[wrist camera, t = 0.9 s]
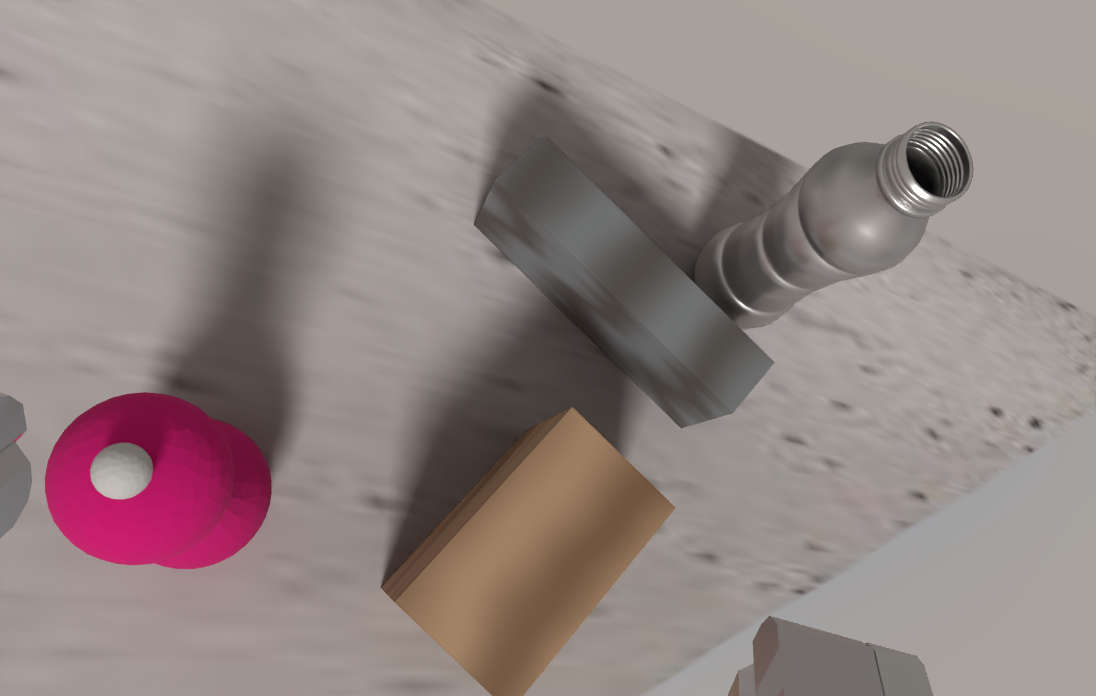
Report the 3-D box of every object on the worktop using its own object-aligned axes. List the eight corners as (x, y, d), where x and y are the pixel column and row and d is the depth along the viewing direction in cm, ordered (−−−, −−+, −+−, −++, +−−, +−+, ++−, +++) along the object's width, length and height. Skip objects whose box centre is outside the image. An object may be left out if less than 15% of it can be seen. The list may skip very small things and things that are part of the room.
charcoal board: (473, 224, 52) (495, 179, 45) (517, 184, 53) (544, 134, 46) (681, 428, 52) (732, 413, 46) (718, 383, 53) (774, 362, 47)
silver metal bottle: (774, 248, 57) (999, 106, 38) (771, 345, 55) (1004, 247, 36) (686, 230, 55) (873, 73, 36) (679, 329, 54) (872, 219, 35)
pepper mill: (246, 407, 46) (191, 320, 27) (296, 529, 45) (275, 527, 26) (109, 460, 44) (-55, 406, 25) (160, 589, 43) (30, 635, 24)
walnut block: (380, 587, 46) (394, 602, 36) (525, 430, 50) (572, 406, 40) (472, 675, 46) (509, 712, 37) (609, 512, 50) (675, 507, 41)
